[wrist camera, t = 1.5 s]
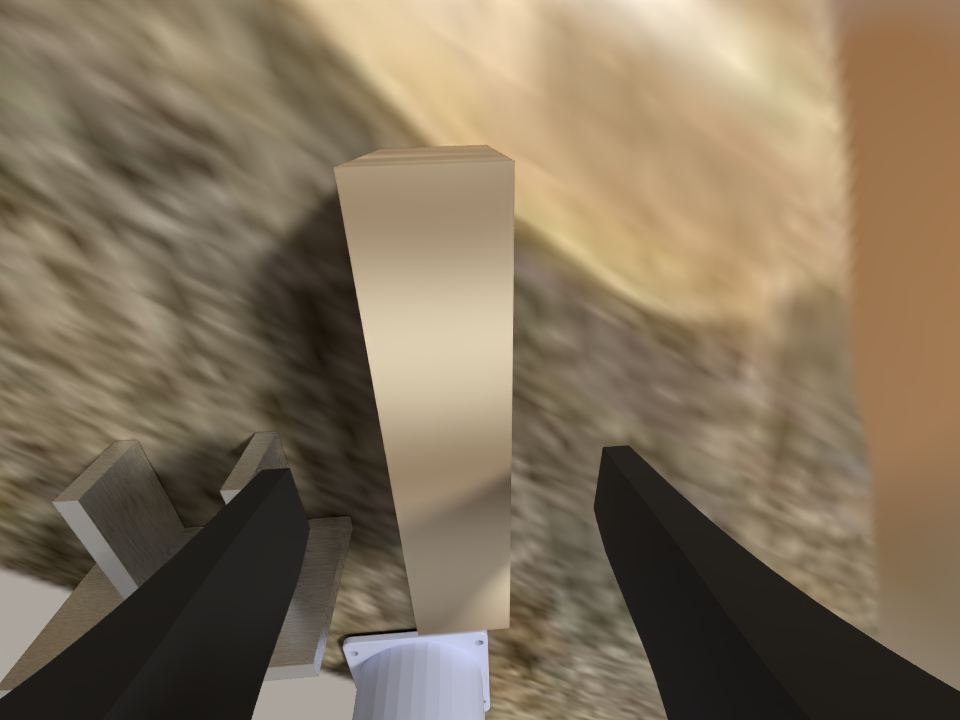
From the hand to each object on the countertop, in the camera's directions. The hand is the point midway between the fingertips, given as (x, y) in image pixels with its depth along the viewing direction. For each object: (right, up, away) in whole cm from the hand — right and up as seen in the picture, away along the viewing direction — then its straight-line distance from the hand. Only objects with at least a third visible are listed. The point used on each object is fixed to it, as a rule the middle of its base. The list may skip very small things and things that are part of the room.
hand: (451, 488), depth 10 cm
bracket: (-10, -2, +8) cm, 13 cm away
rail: (0, +3, +6) cm, 7 cm away
